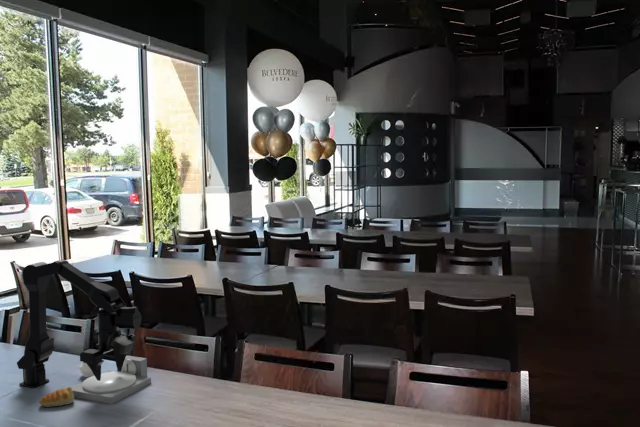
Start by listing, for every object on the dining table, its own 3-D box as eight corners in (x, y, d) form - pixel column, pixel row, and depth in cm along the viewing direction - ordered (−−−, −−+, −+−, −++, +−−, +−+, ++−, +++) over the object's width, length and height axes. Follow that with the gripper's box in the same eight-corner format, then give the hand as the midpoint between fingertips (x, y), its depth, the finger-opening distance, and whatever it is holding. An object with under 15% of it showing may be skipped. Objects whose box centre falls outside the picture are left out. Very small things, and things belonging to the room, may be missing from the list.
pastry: (41, 410, 165) (40, 398, 165) (38, 402, 171) (37, 390, 170) (76, 402, 170) (75, 390, 170) (72, 394, 176) (71, 383, 175)
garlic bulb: (76, 377, 193) (75, 357, 192) (93, 372, 197) (92, 352, 197) (85, 381, 189) (84, 360, 188) (102, 376, 193) (102, 356, 193)
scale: (66, 395, 176) (65, 373, 176) (114, 373, 196) (113, 353, 195) (111, 404, 170) (111, 381, 169) (157, 380, 189) (156, 359, 189)
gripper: (106, 338, 168) (108, 389, 169) (147, 322, 186) (149, 369, 187) (77, 334, 173) (79, 384, 174) (120, 319, 190) (122, 365, 191)
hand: (109, 375), depth 181 cm, fingers open, 9 cm apart
